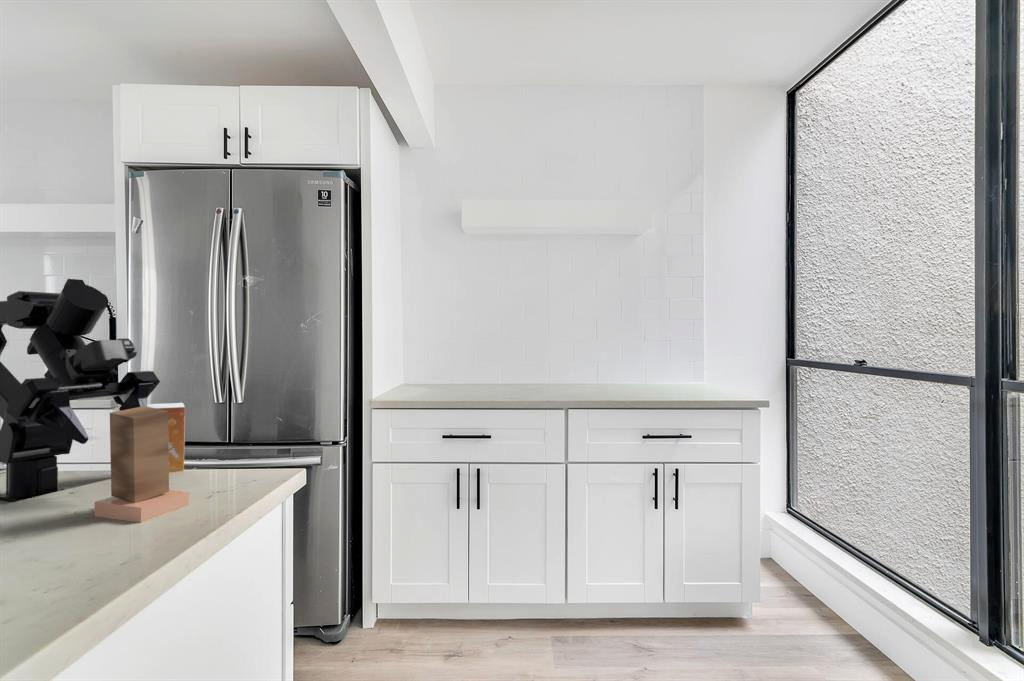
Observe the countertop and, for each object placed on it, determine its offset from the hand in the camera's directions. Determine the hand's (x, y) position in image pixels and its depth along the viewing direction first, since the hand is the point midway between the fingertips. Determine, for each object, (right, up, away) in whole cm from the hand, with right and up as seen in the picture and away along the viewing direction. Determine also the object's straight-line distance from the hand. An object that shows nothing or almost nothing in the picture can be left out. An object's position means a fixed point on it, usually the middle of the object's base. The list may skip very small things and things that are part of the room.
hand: (118, 436), depth 84 cm
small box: (-7, -11, +21) cm, 25 cm away
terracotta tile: (+5, -10, -1) cm, 11 cm away
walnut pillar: (+4, -8, -1) cm, 9 cm away
